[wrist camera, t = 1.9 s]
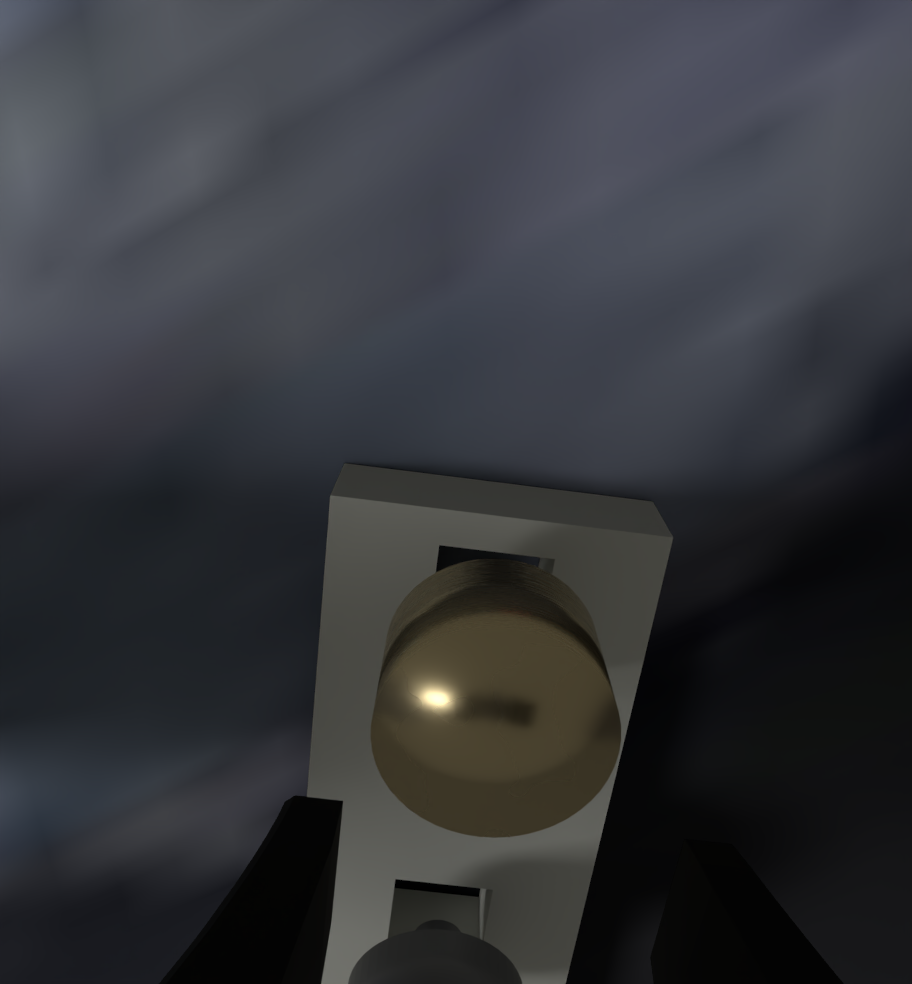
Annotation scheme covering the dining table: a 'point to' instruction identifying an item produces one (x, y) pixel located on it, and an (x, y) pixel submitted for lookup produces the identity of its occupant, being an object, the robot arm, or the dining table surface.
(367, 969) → the graphite knob
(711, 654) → the dining table surface
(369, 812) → the mount board
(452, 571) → the brass knob
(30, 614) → the dining table surface
